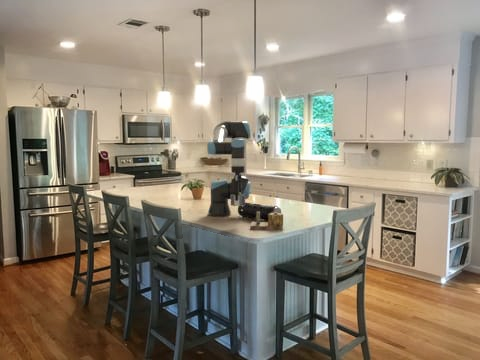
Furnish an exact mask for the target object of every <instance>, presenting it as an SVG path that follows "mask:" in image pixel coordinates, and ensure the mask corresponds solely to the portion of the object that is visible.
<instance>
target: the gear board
mask: <svg viewBox="0 0 480 360" xmlns="http://www.w3.org/2000/svg"><path fill="white" fill-rule="evenodd" d="M255 220H256V221H251V223H250V230H257V231H259V230H264V231H283V229H284V228H283V227H284V213H282V212H281V213H277V212H274V213H270V214H268V222H267V221H261V219H260V212H257V215H256V219H255Z"/></svg>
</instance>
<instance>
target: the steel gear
mask: <svg viewBox="0 0 480 360" xmlns="http://www.w3.org/2000/svg"><path fill="white" fill-rule="evenodd" d="M245 203H246V199H245V194H239V206H245ZM230 206H231V207H236V206H235V204H234V195H233V194H231V199H230Z"/></svg>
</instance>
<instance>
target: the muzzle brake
mask: <svg viewBox="0 0 480 360" xmlns="http://www.w3.org/2000/svg"><path fill="white" fill-rule="evenodd" d="M257 212H260V220H263V222H268V214H270V213H274V212H277V213H282V209H281V207H278V206H277V205H267V204H260V203H253V202H245V206H237V213H238V215H239V216H241V218H243V219H251V220H256V215H257Z"/></svg>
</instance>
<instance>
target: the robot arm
mask: <svg viewBox="0 0 480 360" xmlns="http://www.w3.org/2000/svg"><path fill="white" fill-rule="evenodd" d="M212 132H213V133H212V134H213V135H212V136H213V138H212V141H209V142H207V143H206V145H207V148H206V149H207V154H208V155H213V156H214V155H215V156H216V155H218V156H220V155H221V156H222V155H224V156H225V155H229V156H230V155H231V158H230V161H231V163H230V164H231V167H230V169H231V170H230V171H231V173H233V177H232V178H231V181H229V180H228V179H220V180H219V179H218V180H214V181H212V182H211V183H210V189H209V190H210V204H209V207H208V208H209V209H208V211H207V212H208V213H207V215H208V216H210V217H217V218H219V217H228V216H229V217H230V216H231V213H232V211H231V209H230V205H229V200H231V194H233V195H234V204H235V206H234V207H238V206H239V194H245V200H248V198H250V191H251V184H252V183H251V181H249V178H248V177H247V143H248V142H249V139H251V129H250V123H249V122H248V121H244V120H240V121H236V120H235V121H233V120H232V121H229V120H227V121H223V122H220V123H218V124H217V125H216V126H215V127H214V129H213V131H212ZM226 139H231V141H226Z"/></svg>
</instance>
